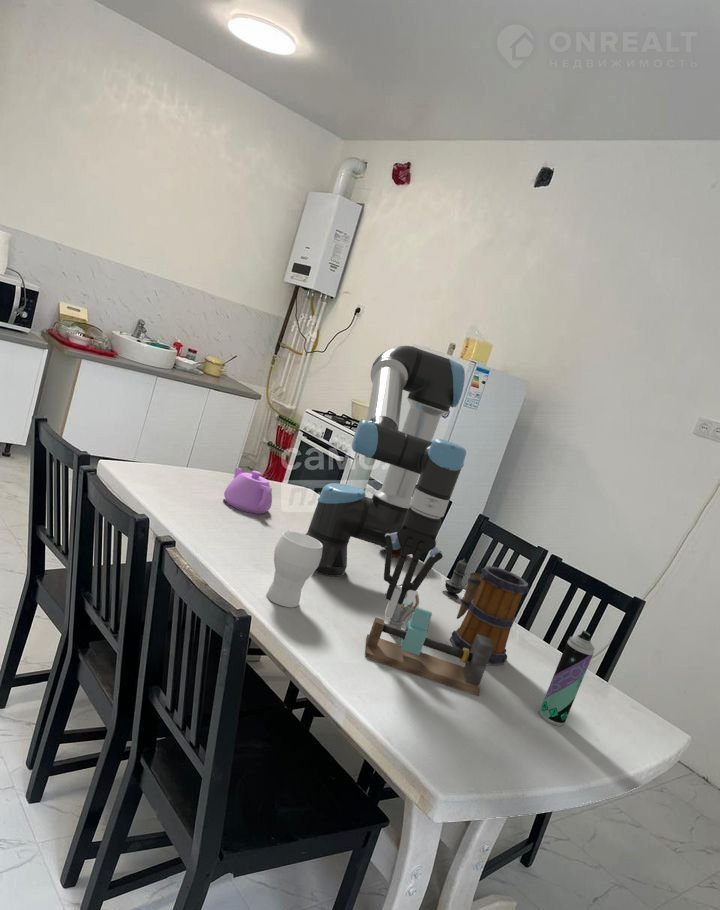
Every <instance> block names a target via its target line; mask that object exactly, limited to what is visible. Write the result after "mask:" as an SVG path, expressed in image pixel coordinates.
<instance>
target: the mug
mask: <svg viewBox="0 0 720 910" xmlns="http://www.w3.org/2000/svg"><path fill="white" fill-rule="evenodd" d="M529 591H530V587H529V583H528V582H527V581H526V580H525V579H524V578H522V577H521V576H519V575H517V574H515V573H513V572H511V571H508V570H506V569H505V568H504V569H503V568H500V567H496V566H491V565H485V567H483V568H481V569H480V572H471V573H469V576H468V580H467V585H466V588H465V591H464V595H463V597H462V598H461V601H460V607H459V609H458V612H457V615H456V619H457V620H458V619H461V618H462V617H463V616H464V615H465V617H464V618H463V620H462V622H461V625H459V627H458V628H457V629H456V630H453V631H452V633H451V636H450V637H449V639H448V640H449V642H450V643H451V646H453V647H455V648H458V649H461V650H462V649H463V648H467V649H469V652H470V650H471V648H472V645H473V643H474V640H475V638H476V635H477V634H479V635H482V636H485V637H487V638H490V640H491V642H492V645H493V651H492V653H491V656H490V658H489V661H488V663H487V666H491V667H501V666H502V667H503V666H504V664H505V663H506V661H507V659H508V655H507V654H506V653H507V649H506V646H507V643H508V639H509V636H510V632H511V629H512V627H513V624H514V622H515V620H516V617H515V615H516V612H517V610H518V607H519V604H520V602H521V600H522V597H523V595H525V594H527V593H529Z"/></svg>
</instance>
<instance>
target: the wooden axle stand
mask: <svg viewBox="0 0 720 910" xmlns="http://www.w3.org/2000/svg"><path fill="white" fill-rule="evenodd" d="M382 633H385V634H388V635H391V636H394V637H397V638H399V639H405V636H406V633H407V631H406V630H405V629H402V628H401V629H400V628H397V627H394V626H391V625H388V623H386V622H385V619H383V618H380V617H377V616H375V618H374V620H373V623H372V626H371V629H370V632H369V634H368V633H367V635H366V637H365V649H364V658H365V659H368V660H371V661H375V662H376V663H377V662H378V663H381V664H384V665H387V666H390V667H393V668H395V669H398V670H401V671H404V672H407V673H410V674H414V675H416V676H419V677H421V678H424V679H427V680H431V681H433V682H436V683H439V684H443V685H446V686H449V687H451V688H454V689H457V690H459V691H463V692H466V693H469V694H471V695H474V696H477V697H479V696H480V693H481V690H480V687H479V686H480V684H481V681H482V679H483V676H484V674H485V671H486V668H487V666H488V665H487V663H488V661H489V658H490V656H491V653H492V651H493V645H492V642H491V640H490V638H487V637H485V636H482V635H479V634H477V635H476V638H475V640H474V643H473V645H472V648H471V650H470V652H469V649H467V648H463V649H462V650H461V649H458V648H455V647H453V645H449V644H447V643H444V642H440V641H438V640H435V639H433V638H432V639H431V638H429V637H426V639H425V641H424V644H423V647H426V648H429V649H432V650H435V651H438V652H440V653H443V654H447V655H449V656H452V657H456V658H458V659H459V662H461V663H464V666H463V665H460V664H457V663H453V662H451V661H449V660H444V659H443V658H442V659H441V658H439V657H436V656H433V655H431V654H427V653H425V652H422V651H421V652H420V655H416V654H413V653H410V652H407V651H404V650H401V644H398V643H396V642H393V641H391V640H390V641H389V640H387V639H383V638H381V635H382Z"/></svg>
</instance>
